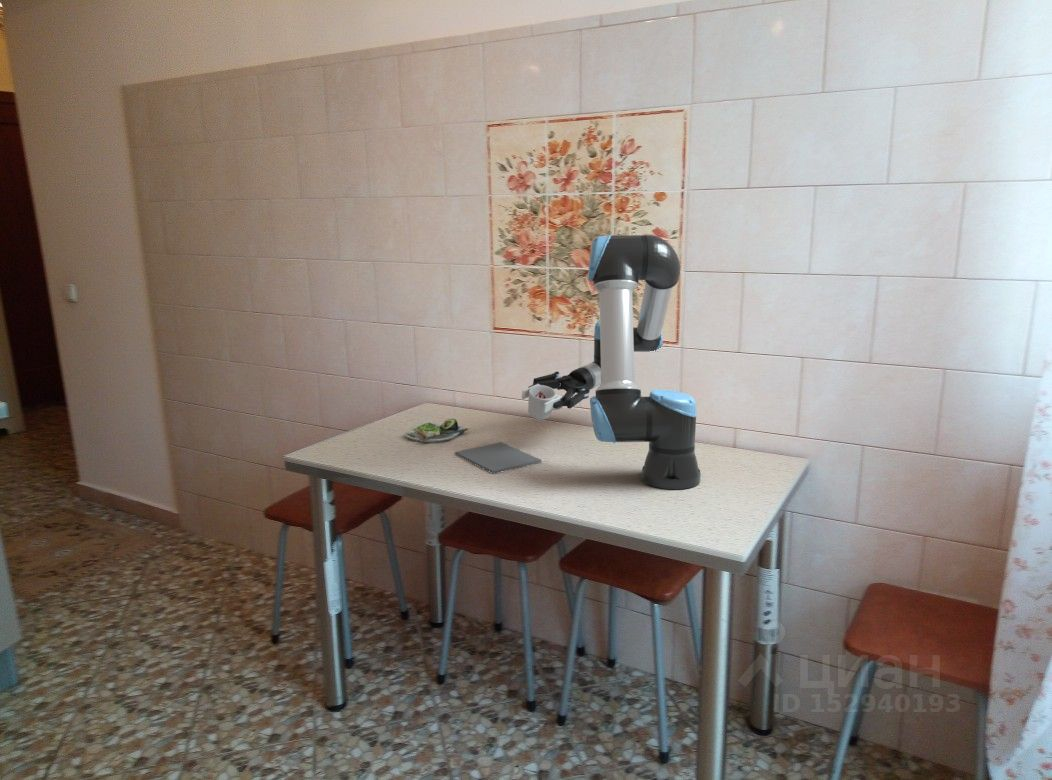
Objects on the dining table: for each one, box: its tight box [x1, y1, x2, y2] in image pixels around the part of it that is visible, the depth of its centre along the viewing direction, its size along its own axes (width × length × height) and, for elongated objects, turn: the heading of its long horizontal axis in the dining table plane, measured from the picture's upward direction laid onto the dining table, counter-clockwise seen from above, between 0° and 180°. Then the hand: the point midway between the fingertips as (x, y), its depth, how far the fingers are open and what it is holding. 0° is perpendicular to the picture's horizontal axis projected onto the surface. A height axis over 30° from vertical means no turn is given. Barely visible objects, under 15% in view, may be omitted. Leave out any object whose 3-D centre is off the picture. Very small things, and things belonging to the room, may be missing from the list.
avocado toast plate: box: [404, 418, 469, 444], centre depth 232 cm, size 19×18×5 cm
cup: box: [527, 385, 564, 421], centre depth 213 cm, size 11×8×8 cm
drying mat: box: [454, 441, 542, 474], centre depth 210 cm, size 21×16×1 cm
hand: (533, 401), depth 210 cm, fingers closed on cup, 8 cm apart
